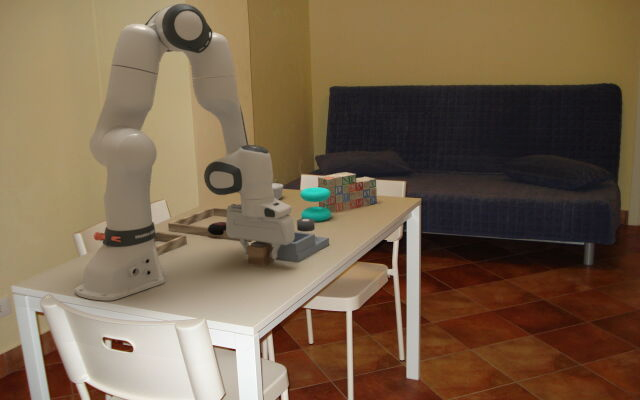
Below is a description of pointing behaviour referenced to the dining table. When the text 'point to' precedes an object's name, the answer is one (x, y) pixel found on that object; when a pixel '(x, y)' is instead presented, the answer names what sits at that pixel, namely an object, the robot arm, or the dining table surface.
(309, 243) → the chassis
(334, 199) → the stack of blocks
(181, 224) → the wooden open frame
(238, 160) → the robot arm
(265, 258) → the brown block
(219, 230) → the toy motorcycle
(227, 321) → the dining table surface
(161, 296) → the dining table surface
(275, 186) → the ramekin
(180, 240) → the wooden frame
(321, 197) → the donuts
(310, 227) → the wheel
